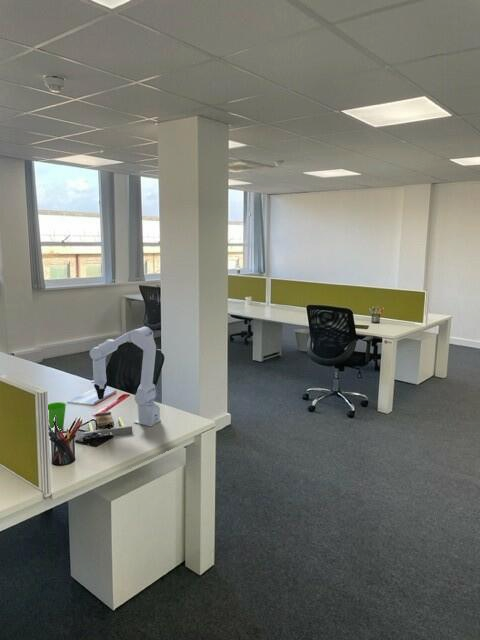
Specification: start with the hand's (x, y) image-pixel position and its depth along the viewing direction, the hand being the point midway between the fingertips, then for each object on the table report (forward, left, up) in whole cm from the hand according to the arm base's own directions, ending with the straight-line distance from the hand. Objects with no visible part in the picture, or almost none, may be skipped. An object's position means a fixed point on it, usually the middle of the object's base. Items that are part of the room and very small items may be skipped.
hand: (100, 398), depth 226 cm
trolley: (-9, +8, -8) cm, 14 cm away
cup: (+6, +22, -8) cm, 24 cm away
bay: (-14, +12, -8) cm, 21 cm away
